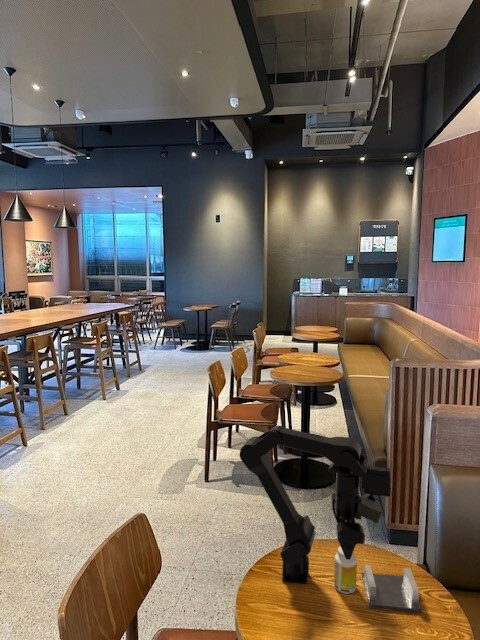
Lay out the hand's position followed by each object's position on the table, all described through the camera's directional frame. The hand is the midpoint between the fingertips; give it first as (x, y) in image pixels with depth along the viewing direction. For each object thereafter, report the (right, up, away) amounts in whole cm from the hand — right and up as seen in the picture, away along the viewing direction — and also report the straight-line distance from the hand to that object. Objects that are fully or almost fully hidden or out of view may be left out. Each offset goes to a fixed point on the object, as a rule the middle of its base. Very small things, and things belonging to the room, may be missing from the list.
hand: (345, 547), depth 109 cm
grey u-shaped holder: (+11, -11, -1) cm, 16 cm away
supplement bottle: (0, -11, +1) cm, 11 cm away
